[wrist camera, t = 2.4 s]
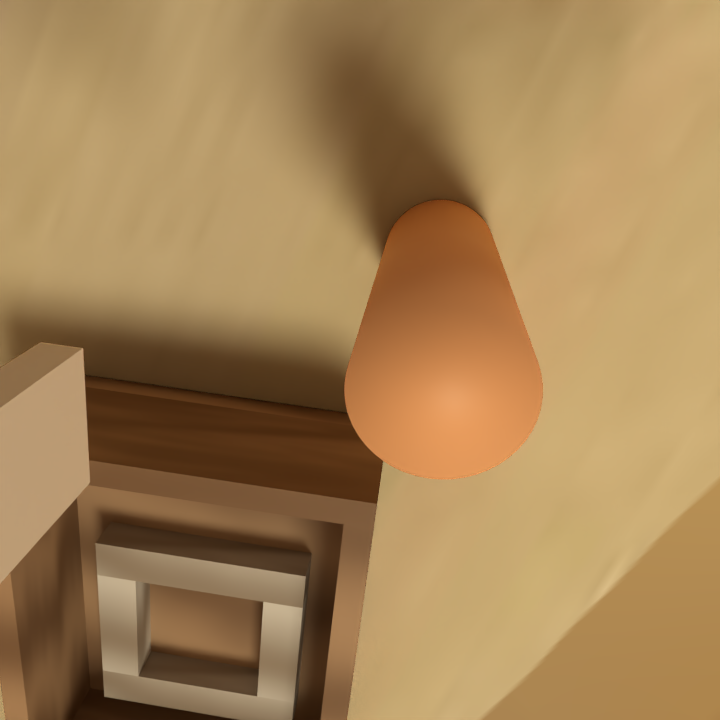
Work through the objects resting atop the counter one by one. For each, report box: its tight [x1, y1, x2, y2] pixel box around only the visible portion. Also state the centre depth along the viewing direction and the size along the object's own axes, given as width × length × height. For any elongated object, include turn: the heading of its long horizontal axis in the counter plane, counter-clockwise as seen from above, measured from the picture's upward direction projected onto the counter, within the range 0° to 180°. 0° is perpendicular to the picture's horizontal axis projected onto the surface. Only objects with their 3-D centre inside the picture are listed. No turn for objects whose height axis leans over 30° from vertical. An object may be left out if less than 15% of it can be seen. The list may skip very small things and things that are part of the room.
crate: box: [0, 375, 383, 720], centre depth 29 cm, size 18×14×6 cm
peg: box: [344, 200, 543, 479], centre depth 19 cm, size 4×4×12 cm
